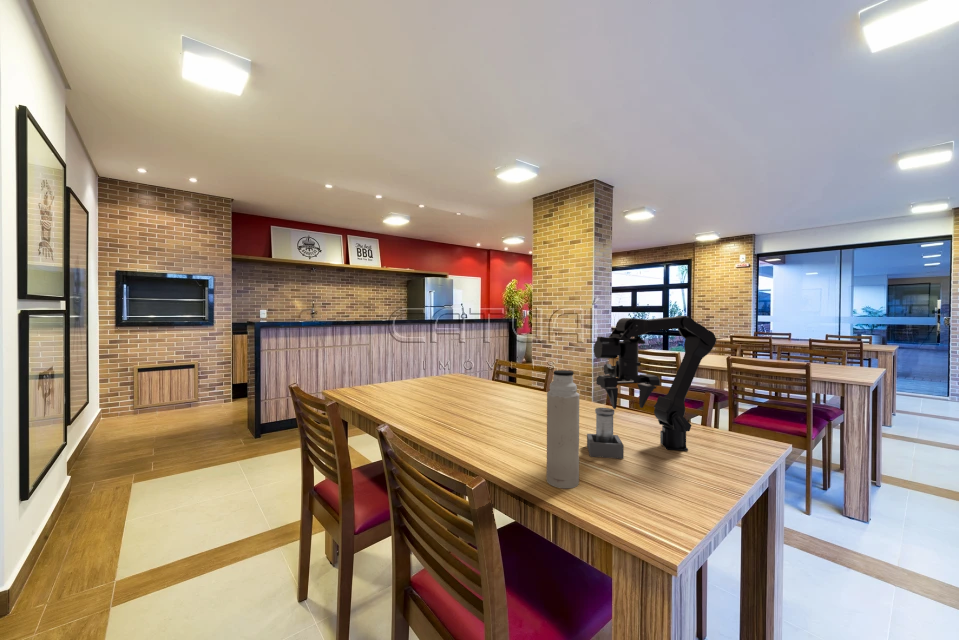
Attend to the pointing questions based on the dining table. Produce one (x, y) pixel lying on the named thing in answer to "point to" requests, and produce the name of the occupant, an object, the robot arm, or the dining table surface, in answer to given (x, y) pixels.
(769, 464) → the dining table surface
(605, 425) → the pipe
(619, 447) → the gray square tray
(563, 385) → the thermos bottle
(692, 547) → the dining table surface
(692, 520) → the dining table surface
